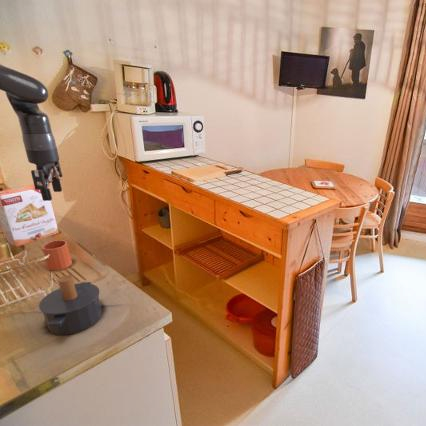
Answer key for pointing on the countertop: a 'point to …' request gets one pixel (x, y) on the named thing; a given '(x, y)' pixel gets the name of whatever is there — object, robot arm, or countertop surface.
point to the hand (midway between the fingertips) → (53, 195)
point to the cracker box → (26, 215)
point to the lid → (68, 297)
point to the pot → (75, 319)
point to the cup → (57, 255)
